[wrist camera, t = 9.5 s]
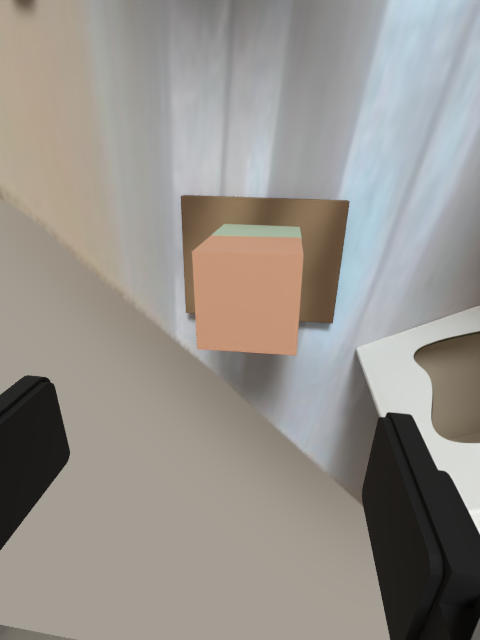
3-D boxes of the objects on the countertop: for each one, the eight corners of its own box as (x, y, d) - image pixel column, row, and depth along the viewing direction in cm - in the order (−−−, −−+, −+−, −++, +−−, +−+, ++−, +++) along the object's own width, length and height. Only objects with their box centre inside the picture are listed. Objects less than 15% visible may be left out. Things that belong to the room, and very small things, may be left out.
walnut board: (347, 200, 27) (349, 201, 26) (331, 318, 31) (332, 323, 30) (184, 195, 29) (180, 196, 28) (188, 308, 33) (186, 312, 32)
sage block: (299, 226, 27) (301, 238, 23) (293, 298, 30) (294, 322, 25) (224, 223, 28) (211, 234, 24) (224, 294, 31) (212, 316, 26)
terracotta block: (301, 237, 23) (303, 254, 18) (295, 321, 25) (296, 355, 21) (210, 235, 24) (191, 251, 19) (213, 317, 26) (197, 349, 21)
